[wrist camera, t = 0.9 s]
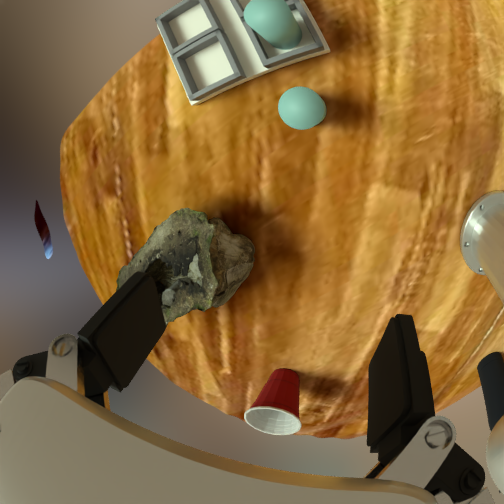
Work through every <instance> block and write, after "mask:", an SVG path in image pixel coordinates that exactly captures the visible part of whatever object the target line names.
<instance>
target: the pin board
mask: <svg viewBox="0 0 504 504" xmlns="http://www.w3.org/2000/svg"><path fill="white" fill-rule="evenodd" d="M155 20H156V22H157V26H158V29H159V31H160V33H161V36H162V38H163V40H164V43H165V45H166V47H167V50H168V52H169V54H170V57H171V59H172V61H173V64H174V66H175V68H176V71H177V73H178V75H179V78H180V80H181V82H182V85H183V87H184V89H185V92H186V94H187V96H188V99H189V101H190V103H191V105H198V104H200V103H202V102H204V101H206V100H208V99H210V98H212V97H214V96H216V95H218V94H220V93H222V92H224V91H226V90H228V89H231V88H233V87H235V86H237V85H239V84H242V83H244V82H246V81H249V80H251V79H253V78H256V77H258V76H261V75H263V74H266V73H268V72H271V71H274V70H276V69H279V68H282V67H285V66H287V65H290V64H293V63H296V62H299V61H302V60H305V59H309V58H312V57H315V56H319V55H322V54H326V53H329V52H330V49H329V47H328V44H327V42H326V40H325V38H324V36H323V34H322V33H321V31H320V29H319V27H318V25H317V23H316V21H315V19H314V18H313V16H312V14H311V12H310V11H309V9H308V7H307V5H306V4H305V2H304V0H183V1H182V2H180V3H178V4H177V5H175V6H174V7H172V8H170V9H169V10H167V11H166V12H164V13H163V14H162V15H160V16H159V17H157V18H156V19H155Z"/></svg>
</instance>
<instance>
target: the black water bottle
mask: <svg viewBox="0 0 504 504" xmlns="http://www.w3.org/2000/svg"><path fill="white" fill-rule="evenodd" d="M477 370H478V373H479V377H480V381H481V385H482V390H483V394H484V399H485V404H486V410H487V416H488V422H489V427H490V430H491V431H492V429H493V428H494V426H495V425H496V423H497V422H498V421H499V420H500V419H501V417H502V416H503V415H504V361H503V358H502V355H501V354H500V353H499V352H494V353H491V354H489V355H487V356H486V357H485V358H483V359H482V360H481V361H480V363H479V364H478V367H477ZM499 492H501V491H500V490H499Z"/></svg>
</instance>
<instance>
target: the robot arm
mask: <svg viewBox="0 0 504 504" xmlns="http://www.w3.org/2000/svg"><path fill="white" fill-rule="evenodd" d="M460 247H461V253H462V256H463V258H464V260H465V262H466V264H467V265H468V266H469V268H470V269H471V270H473V271H474V272H475V273H477V274H480V275H486V276H487V277H488V279H489V281H490V282H491V284H492V285H493V287H494V289H495V291H496V292H497V294H498V296H499V297H500V299H501V301H502V303H503V305H504V191H493V192H489V193H487V194H485V195H483V196H482V197H481V198H479V199H478V200H477V201H476V202H475V203H474V205H473V206H472V207H471V209H470V210H469V212H468V213H467V216H466V218H465V220H464V223H463V226H462V229H461V235H460ZM165 329H166V322H165V319H164V315H163V312H162V308H161V304H160V301H159V297H158V293H157V289H156V285H155V281H154V279H153V278H152V276H151V275H150V274H148V273H144V272H139V271H137V272H135V273H134V274H133V275H132V276H131V277H130V278H129V279H128V280H127V281H126V282H125V283H124V284H123V285H122V286H121V287H120V288H119V289H118V290H117V291H116V292H115V293H114V294H113V296H112V297H111V298H110V299H109V300H108V301H107V302H106V303H105V304H104V305H103V306H102V307H101V308H100V309H99V310H98V311H97V312H96V313H95V315H94V316H93V317H92V318H91V319H90V320H89V321H88V322H87V323H86V324H85V325H84V327H83V328H82V329H81V330H80V331H79V332H78V336H79V338H78V339H76V337H75V336H73V335H71V334H63V335H60V336H58V337H56V338H55V339H54V340H53V341H52V342H51V344H50V346H49V350H48V351H45V352H42V353H38V354H33V355H29V356H25V357H23V358H21V359H19V360H18V361H17V362H16V364H15V366H14V368H13V371H12V369H10V370H8V371H6V372H5V373H3V374H1V375H0V504H495V502H494V500H493V498H492V496H491V494H490V492H489V490H488V488H487V487H486V488H484V487H483V485H484V481H485V472H484V469H483V468H482V466H481V465H480V464H479V463H478V462H477V461H475V460H474V459H473V458H472V457H471V456H470V455H469V454H467V453H466V452H465V451H464V450H463V449H461V447H460V446H458V445H457V444H456V443H455V440H456V430H455V427H454V425H453V423H452V422H451V421H450V420H449V419H447V418H445V417H443V416H435V410H434V402H433V395H432V388H431V382H430V376H429V370H428V365H427V360H426V356H425V353H424V352H423V351H420V347H419V342H418V338H417V333H416V329H415V325H414V321H413V317H412V316H411V315H404V314H397V315H396V316H395V318H394V317H392V318H391V319H390V321H389V323H388V326H387V328H386V330H385V332H384V334H383V337H382V339H381V341H380V343H379V345H378V347H377V349H376V351H375V353H374V356H373V358H372V359H371V362H370V364H369V402H368V429H367V446H371V448H370V453H378V461H379V462H378V463H377V464H376V465H375V466H374V467H373V468H372V469H371V470H370V471H369V472H368V473H367V474H366V475H365V476H364V477H363V478H348V477H332V476H321V475H312V474H304V473H295V472H289V471H282V470H276V469H271V468H266V467H261V466H256V465H252V464H247V463H243V462H239V461H235V460H232V459H228V458H224V457H221V456H217V455H214V454H211V453H208V452H205V451H201V450H198V449H196V448H193V447H190V446H187V445H184V444H181V443H179V442H176V441H173V440H171V439H168V438H166V437H164V436H161V435H159V434H156V433H154V432H152V431H150V430H148V429H145V428H143V427H141V426H139V425H137V424H135V423H132V422H130V421H128V420H126V419H124V418H123V417H121V416H119V415H117V414H115V413H113V412H111V411H110V405H109V398H108V391H107V390H108V388H109V386H110V387H111V388H113V389H115V390H117V391H119V392H121V391H122V390H123V388H126V387H127V386H128V385H129V383H130V382H131V380H132V379H133V377H134V376H135V374H136V373H137V371H138V370H139V368H140V367H141V365H142V364H143V362H144V361H145V359H146V358H147V356H148V355H149V353H150V352H151V350H152V349H153V347H154V346H155V345H156V343H157V342H158V340H159V339H160V337H161V336H162V334H163V333H164V331H165ZM486 461H487V466H488V470H489V473H490V475H491V477H492V479H493V481H494V483H495V484H496V486H497V487H498V489H499V490H500V491H501V492H502V494H503V495H504V415H503V416H502V417H501V419H500V420H499V421H498V422H497V423H496V425H495V426H494V428H493V429H492V431H491V433H490V436H489V438H488V442H487V448H486Z"/></svg>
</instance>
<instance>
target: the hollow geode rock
mask: <svg viewBox="0 0 504 504" xmlns="http://www.w3.org/2000/svg"><path fill="white" fill-rule="evenodd" d="M254 253H255V248H254V245H253V243H252V241H251V240H250V239H248V238H247V237H246V236H244V235H241V234H235V235H234V234H232V232H231V231H230V229H229V228H228V226H227V225H226V224H225V223H224V222H223V221H222V220H221V219H219V218H213V219H211V220H208V221H207V215H206V213H205V212H197V211H194V210H191V209H189V208H184V209H180V210H177V211H175V212H174V213H173V214H171V215H170V216H169V218H168V219H167V220H165V221H164V222H162V223H161V225H158V226H156V227H155V229H154V231H153V233H152V234H151V236H150V237H149V239H148V241H147V242H146V244H145V245H144V246H143V247H141V249H140V250H139V251H138V252H137V253H136V254H135V255H134V257H133V258H132V260H131V262H130V263H129V265H128V266H123V267H122V268H121V270H120V271H119V275H118V279H117V284H118V286H117V289H116V291H117V290H118V289H119V288H120V287H121V286H122V285H123V284H124V283H125V282H126V281H127V280H128V279H129V278H130V277H131V276H132V275H133V274H134V273H135V272H137V271H139V272H144V273H148V274H150V275H151V276H152V278H153V279H154V281H155V285H156V289H157V293H158V297H159V301H160V304H161V308H162V312H163V315H164V319H165V322H166V327H167V324H168V322H171V321H174V320H175V319H176V318H177V317H181V316H183V315H185V314H187V313H189V312H190V311H191V310H195V309H198V310H200V311H204V312H205V310H206V309H208V308H211V307H212V306H213V307H219V306H221V305H223V304H224V303H226V302H227V301H228V300H229V299H230V298H231V297H232V296H233V295H234V293H235V292H236V290H237V289H238V288H239V286H240V285H241V283H242V282H243V281H244V280H245V279H246V278H247V277H248V276H249V272H250V271H251V269H252V267H253V262H254V257H253V256H254ZM161 282H162V283H163V284H164V285H163V284H162V283H161Z"/></svg>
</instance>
